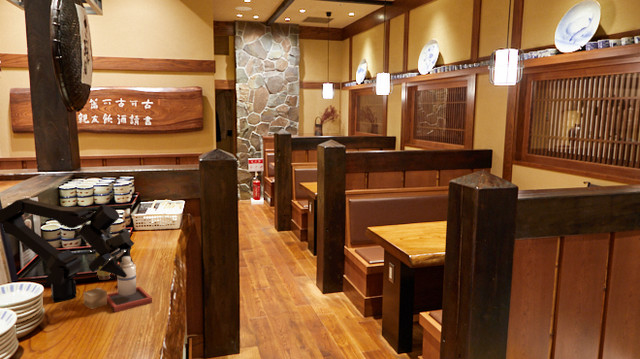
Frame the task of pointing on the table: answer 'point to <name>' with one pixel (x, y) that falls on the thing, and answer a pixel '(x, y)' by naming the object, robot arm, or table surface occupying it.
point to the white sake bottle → (127, 277)
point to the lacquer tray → (128, 300)
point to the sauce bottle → (101, 274)
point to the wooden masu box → (95, 298)
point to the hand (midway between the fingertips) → (130, 273)
